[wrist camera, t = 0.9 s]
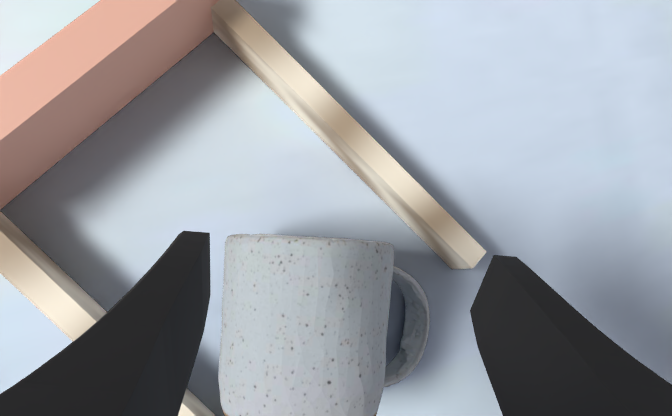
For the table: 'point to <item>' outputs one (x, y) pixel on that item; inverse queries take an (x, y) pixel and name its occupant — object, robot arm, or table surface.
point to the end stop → (88, 79)
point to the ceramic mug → (313, 325)
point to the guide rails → (321, 117)
